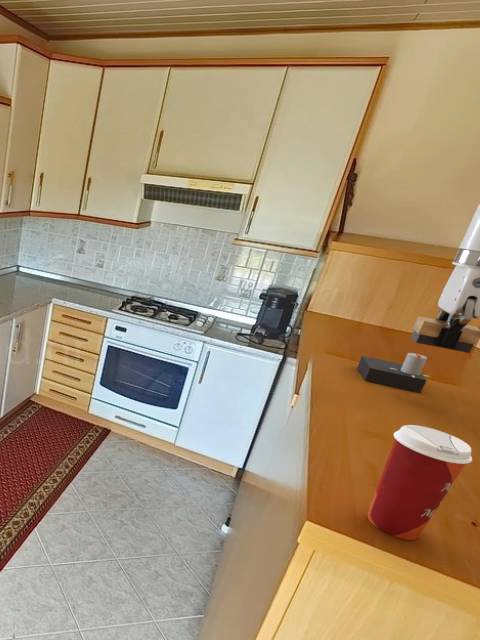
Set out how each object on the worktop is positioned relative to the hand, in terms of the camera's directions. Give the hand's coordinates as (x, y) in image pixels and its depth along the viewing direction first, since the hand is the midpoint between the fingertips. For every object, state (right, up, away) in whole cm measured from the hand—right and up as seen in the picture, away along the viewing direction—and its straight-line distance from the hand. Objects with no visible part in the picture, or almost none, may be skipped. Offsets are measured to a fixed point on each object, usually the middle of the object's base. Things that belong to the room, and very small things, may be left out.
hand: (440, 342), depth 106 cm
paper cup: (-45, -26, -39) cm, 65 cm away
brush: (0, -1, 0) cm, 1 cm away
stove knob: (+5, -7, +13) cm, 16 cm away
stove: (+3, -9, +17) cm, 20 cm away
